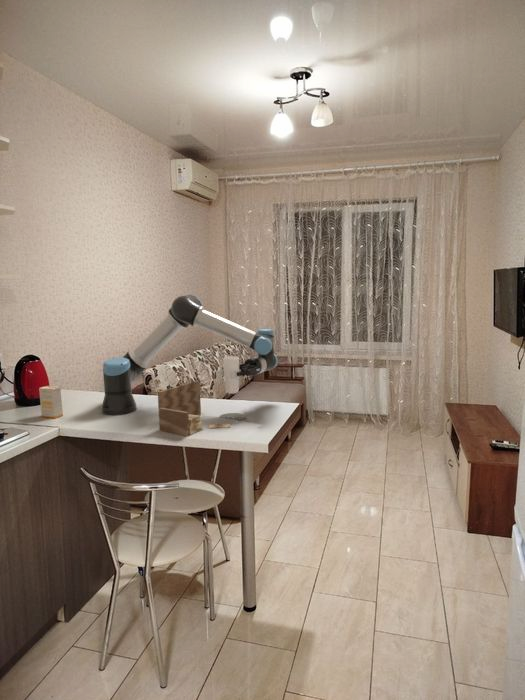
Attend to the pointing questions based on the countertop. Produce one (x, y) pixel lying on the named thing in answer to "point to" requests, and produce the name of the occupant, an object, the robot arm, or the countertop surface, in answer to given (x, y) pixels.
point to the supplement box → (51, 401)
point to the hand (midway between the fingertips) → (224, 374)
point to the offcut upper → (193, 419)
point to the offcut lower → (195, 428)
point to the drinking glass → (229, 366)
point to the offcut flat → (219, 426)
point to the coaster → (233, 416)
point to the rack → (178, 407)
